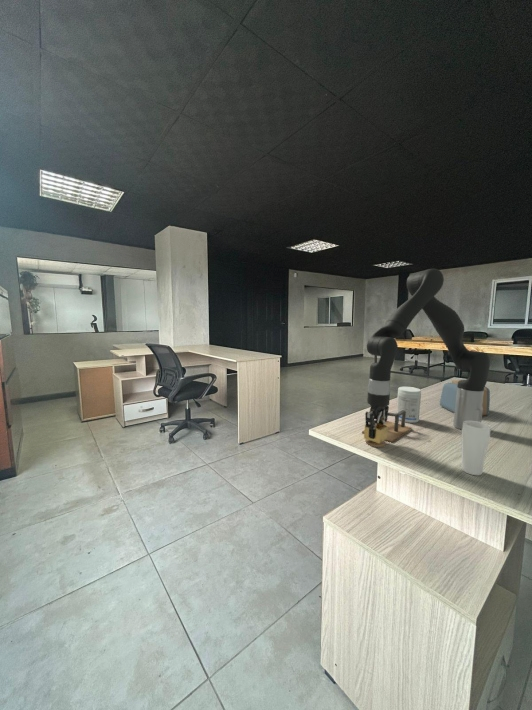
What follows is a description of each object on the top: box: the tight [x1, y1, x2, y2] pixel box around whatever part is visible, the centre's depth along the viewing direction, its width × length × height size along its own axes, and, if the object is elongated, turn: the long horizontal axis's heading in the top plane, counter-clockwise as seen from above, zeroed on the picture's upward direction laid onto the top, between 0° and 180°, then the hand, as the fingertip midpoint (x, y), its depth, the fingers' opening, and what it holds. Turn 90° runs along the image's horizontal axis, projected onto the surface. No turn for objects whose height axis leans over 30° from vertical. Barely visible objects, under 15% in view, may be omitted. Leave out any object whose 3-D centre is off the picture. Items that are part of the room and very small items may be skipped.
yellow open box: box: [363, 423, 388, 443], centre depth 105 cm, size 6×6×5 cm
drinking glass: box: [460, 421, 492, 476], centre depth 85 cm, size 7×7×15 cm
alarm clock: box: [439, 379, 491, 416], centre depth 145 cm, size 16×16×16 cm
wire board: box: [361, 410, 413, 444], centre depth 116 cm, size 12×20×8 cm, turn 133°
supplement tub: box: [396, 386, 422, 424], centre depth 130 cm, size 10×10×15 cm
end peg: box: [364, 438, 387, 448], centre depth 105 cm, size 7×7×5 cm
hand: (375, 435), depth 105 cm, fingers closed on yellow open box, 5 cm apart
